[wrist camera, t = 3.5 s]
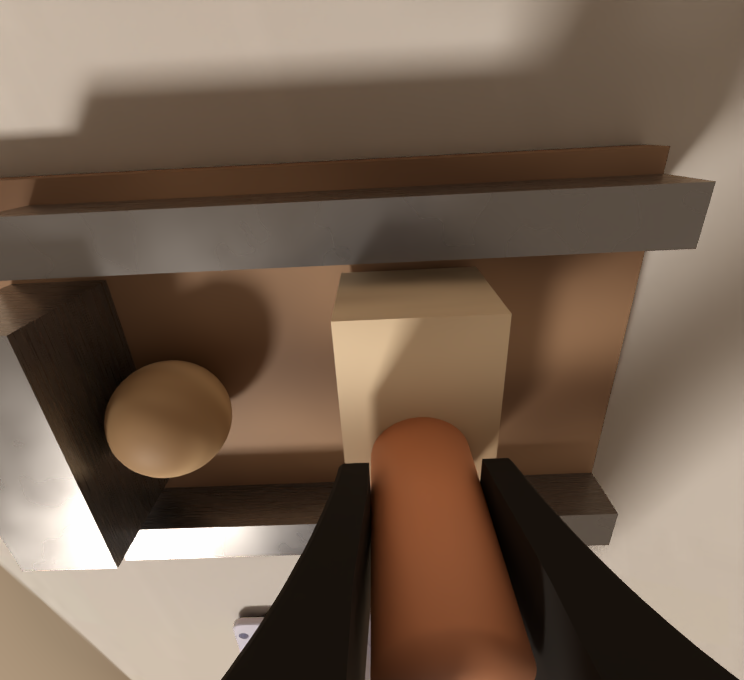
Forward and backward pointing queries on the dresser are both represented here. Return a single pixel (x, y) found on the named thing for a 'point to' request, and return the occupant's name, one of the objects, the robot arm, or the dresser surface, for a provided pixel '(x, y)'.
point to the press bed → (293, 334)
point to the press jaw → (429, 469)
